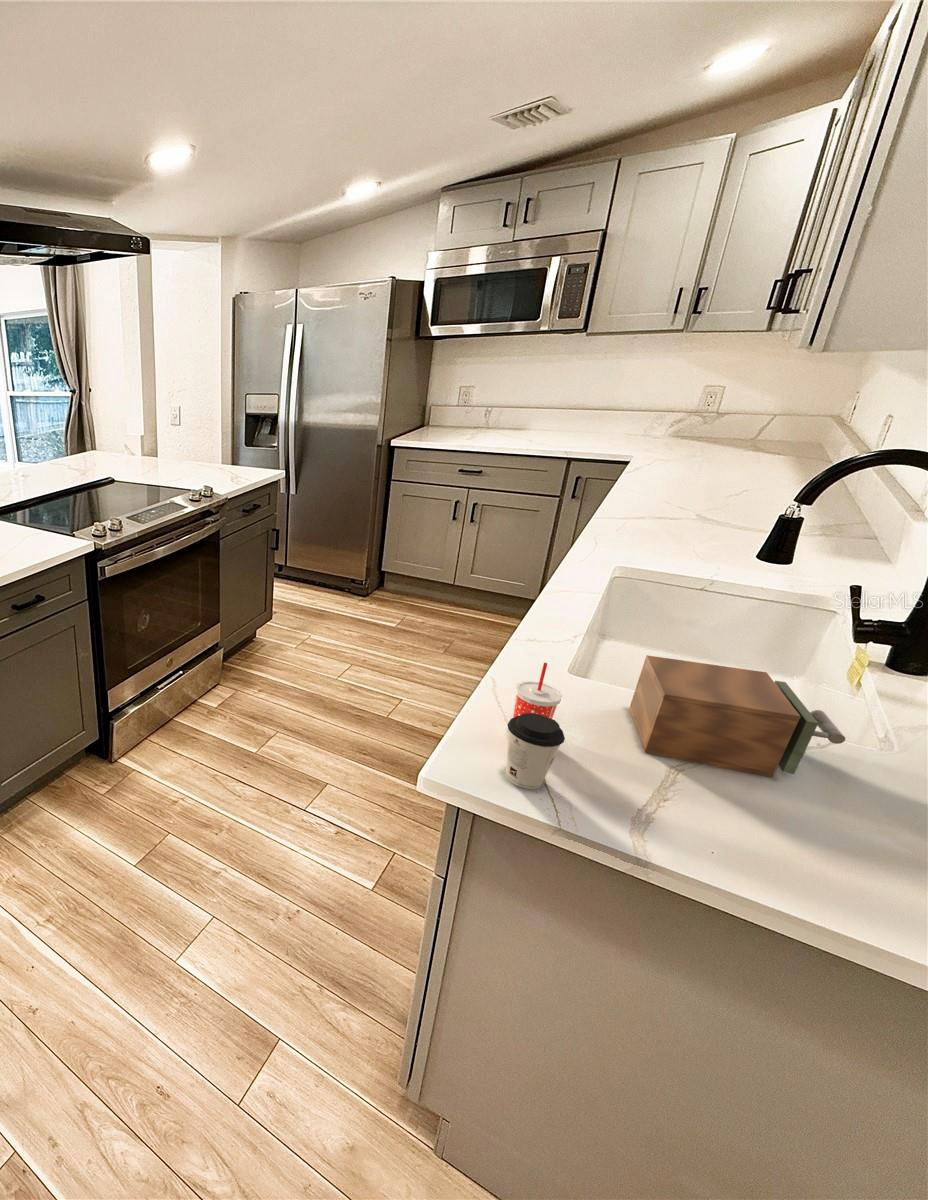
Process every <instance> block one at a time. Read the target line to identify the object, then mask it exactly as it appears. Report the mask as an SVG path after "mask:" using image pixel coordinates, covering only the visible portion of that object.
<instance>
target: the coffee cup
mask: <svg viewBox="0 0 928 1200" xmlns="http://www.w3.org/2000/svg"><path fill="white" fill-rule="evenodd" d="M507 730H508V732H507V733H508V735H507V737H508V738H507V750H506V765H505V777H506V778H507V780H508V781H509V782H510V783H512V784H513V785H515V786H516V787H519V788H521V789H526V790H536V789H539V788H541V787H542V785H543V783H544V781H545V778H546V777H547V774H548V772H549V770H550V768H551V766H552V763H553V761H554V759H555V758H556V755H557V753H558V752H559V748H560V747H561V745H562V744H563V743H565V740H566V737H565V733H564V731H563V729H562V728H561V727H560V724H559V723H558V721H556V720H555V719H553V718H552V719H551V718H548V717H545V716H542V715H539V714H534V713H525V714H522V715H520V716H516V717H514V718H513V717H512V718H510V720H509V721H508V722H507Z"/></svg>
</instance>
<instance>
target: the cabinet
mask: <svg viewBox="0 0 928 1200" xmlns="http://www.w3.org/2000/svg"><path fill="white" fill-rule="evenodd" d="M774 682H775V681H774V680H773V679H772V677H771V676H770V674H769V673H768V672H766V671H760V670H754V669H747V668H746V669H745V668H740V667H732V666H725V665H720V664H719V665H717V664H711V663H710V664H709V663H706V662H705V663H704V662H698V661H689V660H682V659H677V658H669V657H661V656H655V655H645V659H644V661H643V665H642V667H641V671H640V674H639V677H638V680H637V683H636V686H635V689H634V692H633V696H632V699H631V700H630V701H631V702H630V705H629V707H628V710H629V713H630V715H631V719H632V721H633V724H634V727H635V730H636V733H637V735H638V738H639V741H640V743H641V746H642V749H643V752H644V753H647V754H652V755H657V756H660V757H661V756H662V757H666V758H672V759H677V760H682V761H687V762H692V763H697V764H703V765H707V766H712V767H717V768H722V769H727V770H732V771H737V772H743V773H748V774H752V775H758V776H763V777H767V778H773V777H774V775H775V773H776V770H777V768H778V767H779V765H778V764H779V762H780V760H781V758H782V756H783V753H784V751H785V749H786V747H787V745H788V743H789V740H790V738H791V736H792V734H793V732H794V730H795V727H796V725H797V723H798V721H799V719H800V715H799V714H798V712H797V711H796V710H795V709H794V707H793V706H792V705H791V703H790V702H789V701H788V699H787V698H786V697H785V696H784V694H783V693H782V692H781V690H780V689H779V688H778V687H777V685H776V684H775V683H774Z"/></svg>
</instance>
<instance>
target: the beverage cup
mask: <svg viewBox="0 0 928 1200" xmlns="http://www.w3.org/2000/svg"><path fill="white" fill-rule="evenodd" d="M547 669H548V662H543V665H542V669H541V673H540V677H539V681H535V680H534V681H533V680H525V681H520V682H518V683H517V684H516V686H515V691H514V692H515V702H514V708H513V715H512V718H514V717H516V716H520V715H522V714H525V713H534V714H539V715H542V716H545V717H548V718H551V719H553V718H554V714H555V712H556V710H557V706H558V705H559V704H560V703H561V701H562V698H563V694H562V693H561V691H560V690H558V689H557V688H556V687H555V686H552V685H549V684H548V683H544V679H545V675H546V671H547Z"/></svg>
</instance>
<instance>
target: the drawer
mask: <svg viewBox="0 0 928 1200" xmlns="http://www.w3.org/2000/svg"><path fill="white" fill-rule="evenodd" d="M774 683H775V684H776V685H777V687H778V688H779V689H780V690H781V692H782V693H783V694H784V696H785V697H786V698H787V699H788V701H789V702H790V703H791V705H792V706H793V707H794V709H795V710H796V711H797V712H798V714H799V715H800V719H799V721H798V723H797V725H796V727H795V730H794V732H793V734H792V736H791V738H790V740H789V743H788V745H787V747H786V749H785V751H784V753H783V756H782V758H781V760H780V762H779V764H778V767H779V768H780V770H781V772H782V773H785V774H792V775H794V774H795V773H796V771H797V769H798V767H799V765H800V762H801V761H802V759H803V756H804V754H805V752H806V750H807V748H808V747H809V744H810V742H811V740H812V738H813V737H816V738H817V737H818V738H823V739H827V740H828V741H829V742H830V743H832V744H835V745H836V744H838V745H839V744H842V743H844V742H845V741H846V736H845V735H844V734H843V733H842V732H841V730H840V729H839V728H838V726H836V725H835V723H834V722H833V720H831V718H830V717H829V716H828V715H827V714H826V712H824V711H823V710H820V709H814V710H811V711H810V710H809V709H808V708H807V707H806V705H805V704H804V702H802V701H801V699H800V698H799V697H798V695H797V694H796V693H795V692H794V690H792V688H791V687H790V686H789V684H788V683H787V682H786V681H782V680H781V681H780V680H775V681H774ZM817 727H818V728H819V730H820V731H818V730H816V729H817Z"/></svg>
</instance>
